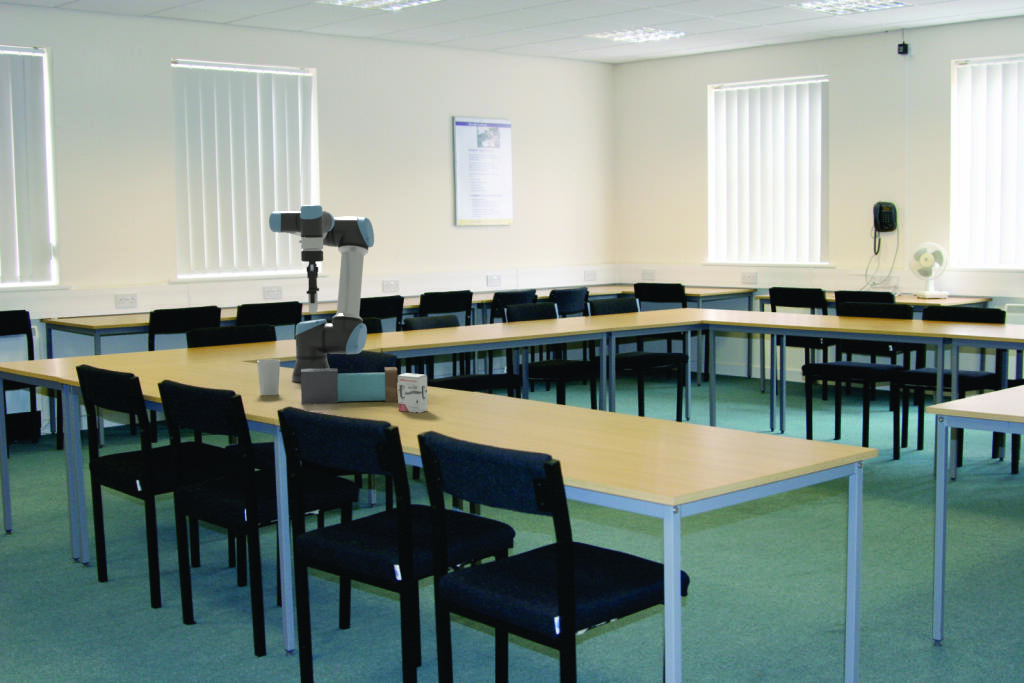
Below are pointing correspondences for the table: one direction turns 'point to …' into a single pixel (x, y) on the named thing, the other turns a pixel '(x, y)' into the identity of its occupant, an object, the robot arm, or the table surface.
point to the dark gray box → (319, 386)
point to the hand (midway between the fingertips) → (313, 311)
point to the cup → (269, 376)
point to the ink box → (412, 392)
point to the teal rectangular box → (361, 386)
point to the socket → (391, 384)
